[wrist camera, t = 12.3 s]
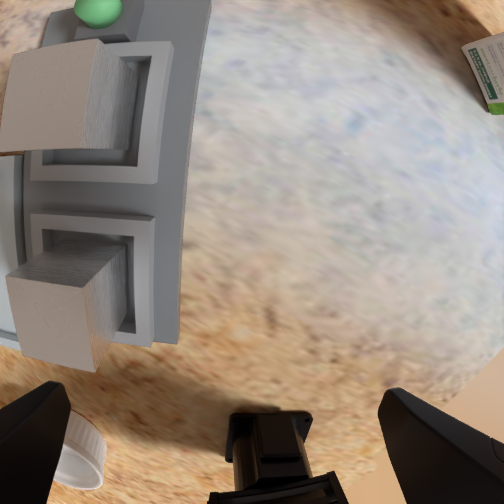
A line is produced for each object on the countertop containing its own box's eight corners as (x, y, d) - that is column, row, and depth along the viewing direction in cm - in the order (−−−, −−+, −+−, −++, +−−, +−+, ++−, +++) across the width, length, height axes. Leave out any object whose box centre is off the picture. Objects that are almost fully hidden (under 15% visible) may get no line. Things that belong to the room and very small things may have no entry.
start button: (118, 27, 11) (107, 15, 9) (82, 31, 11) (69, 20, 9) (127, -5, 10) (118, -19, 9) (91, -1, 10) (80, -13, 9)
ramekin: (122, 464, 23) (114, 498, 19) (48, 449, 23) (36, 477, 18) (97, 405, 21) (82, 442, 17) (16, 388, 20) (-4, 418, 16)
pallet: (179, 334, 19) (172, 363, 16) (44, 314, 18) (22, 336, 15) (211, 7, 14) (209, -19, 11) (59, 19, 12) (35, 1, 9)
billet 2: (128, 310, 17) (95, 372, 11) (69, 302, 17) (22, 355, 11) (126, 244, 16) (82, 287, 10) (64, 238, 16) (4, 275, 10)
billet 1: (130, 150, 15) (80, 148, 9) (64, 149, 14) (-2, 152, 8) (140, 76, 14) (97, 38, 8) (73, 79, 13) (13, 54, 7)
